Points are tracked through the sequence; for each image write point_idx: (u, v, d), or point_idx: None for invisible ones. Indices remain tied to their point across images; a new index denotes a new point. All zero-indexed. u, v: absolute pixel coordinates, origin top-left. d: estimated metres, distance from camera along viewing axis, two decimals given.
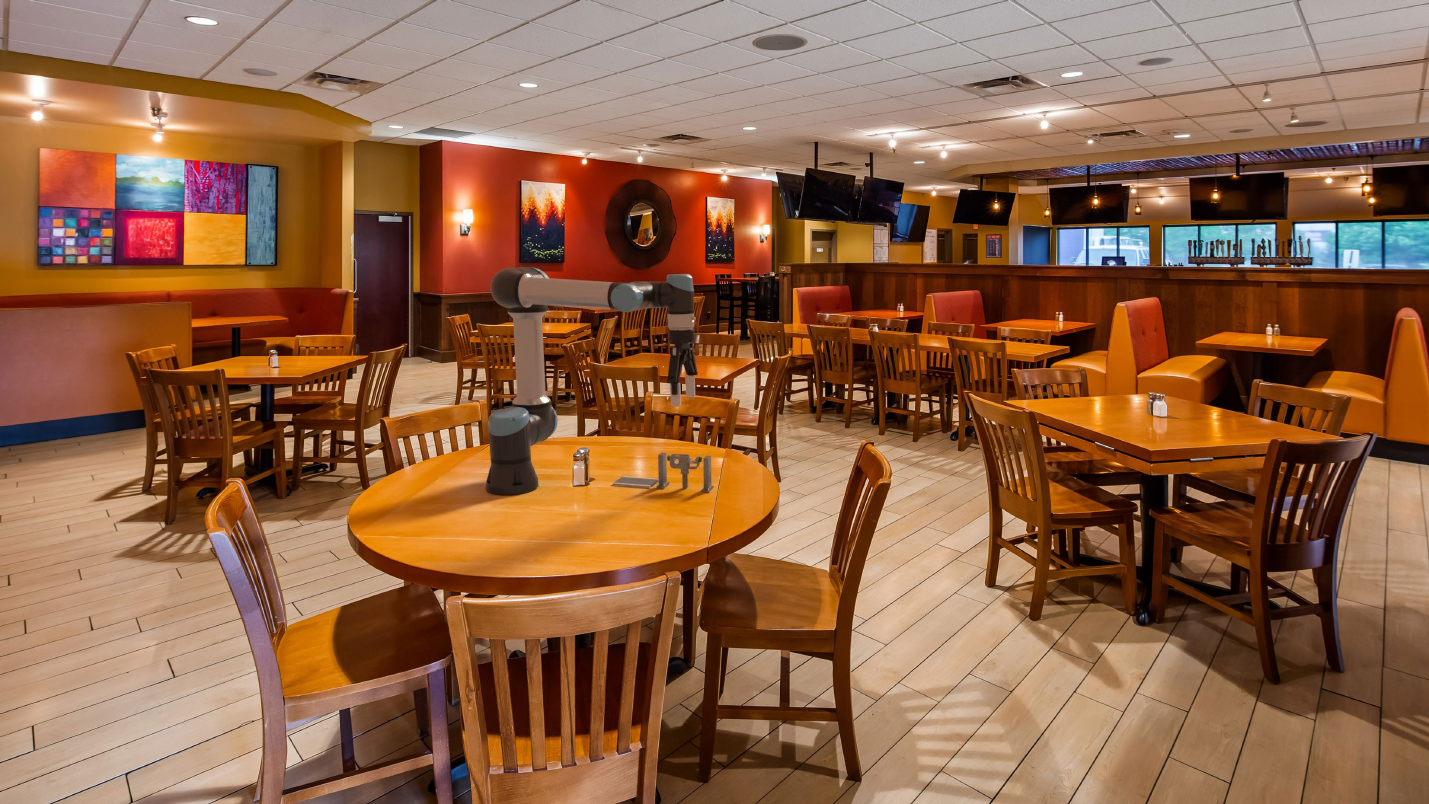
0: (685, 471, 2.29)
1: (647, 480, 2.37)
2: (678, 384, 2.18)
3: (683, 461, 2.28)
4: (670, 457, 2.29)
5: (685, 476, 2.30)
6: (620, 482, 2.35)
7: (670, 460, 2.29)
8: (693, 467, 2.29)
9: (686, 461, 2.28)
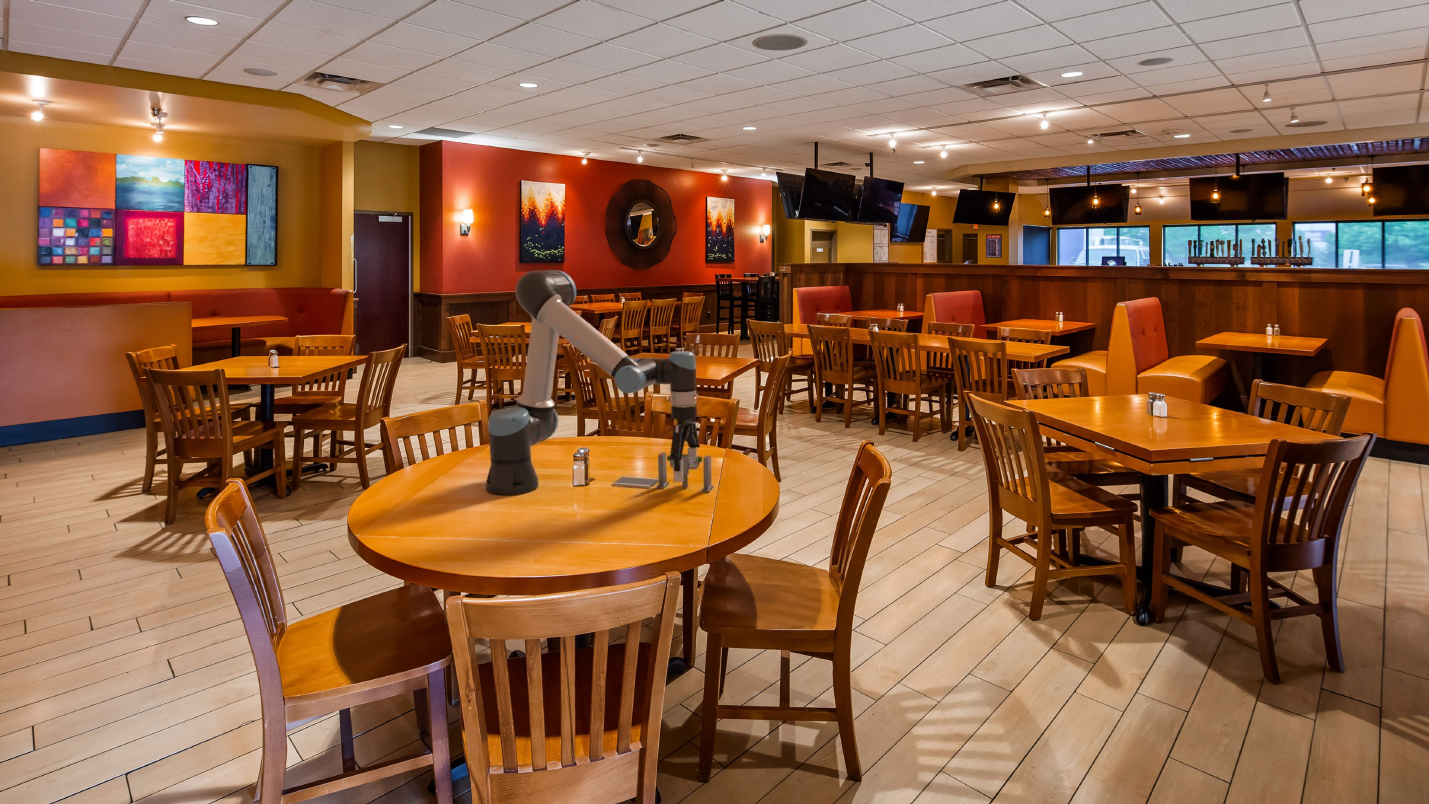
0: (685, 471, 2.29)
1: (647, 480, 2.37)
2: (680, 461, 2.22)
3: (683, 461, 2.28)
4: None
5: (685, 476, 2.30)
6: (620, 482, 2.35)
7: (670, 460, 2.29)
8: (693, 467, 2.29)
9: (686, 461, 2.28)
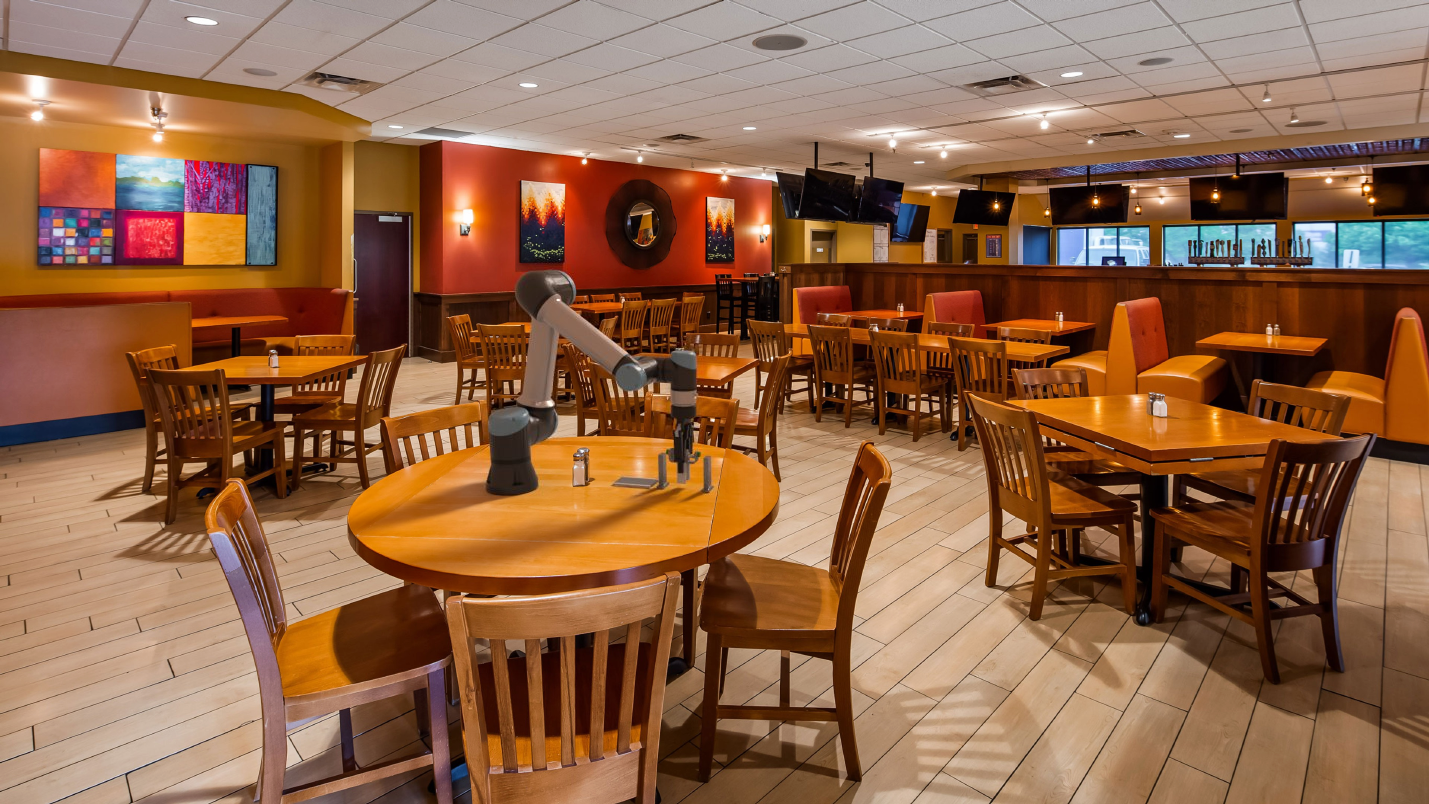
0: None
1: (647, 480, 2.37)
2: (684, 463, 2.27)
3: None
4: (669, 451, 2.29)
5: None
6: (620, 482, 2.35)
7: (669, 454, 2.29)
8: (691, 462, 2.28)
9: None
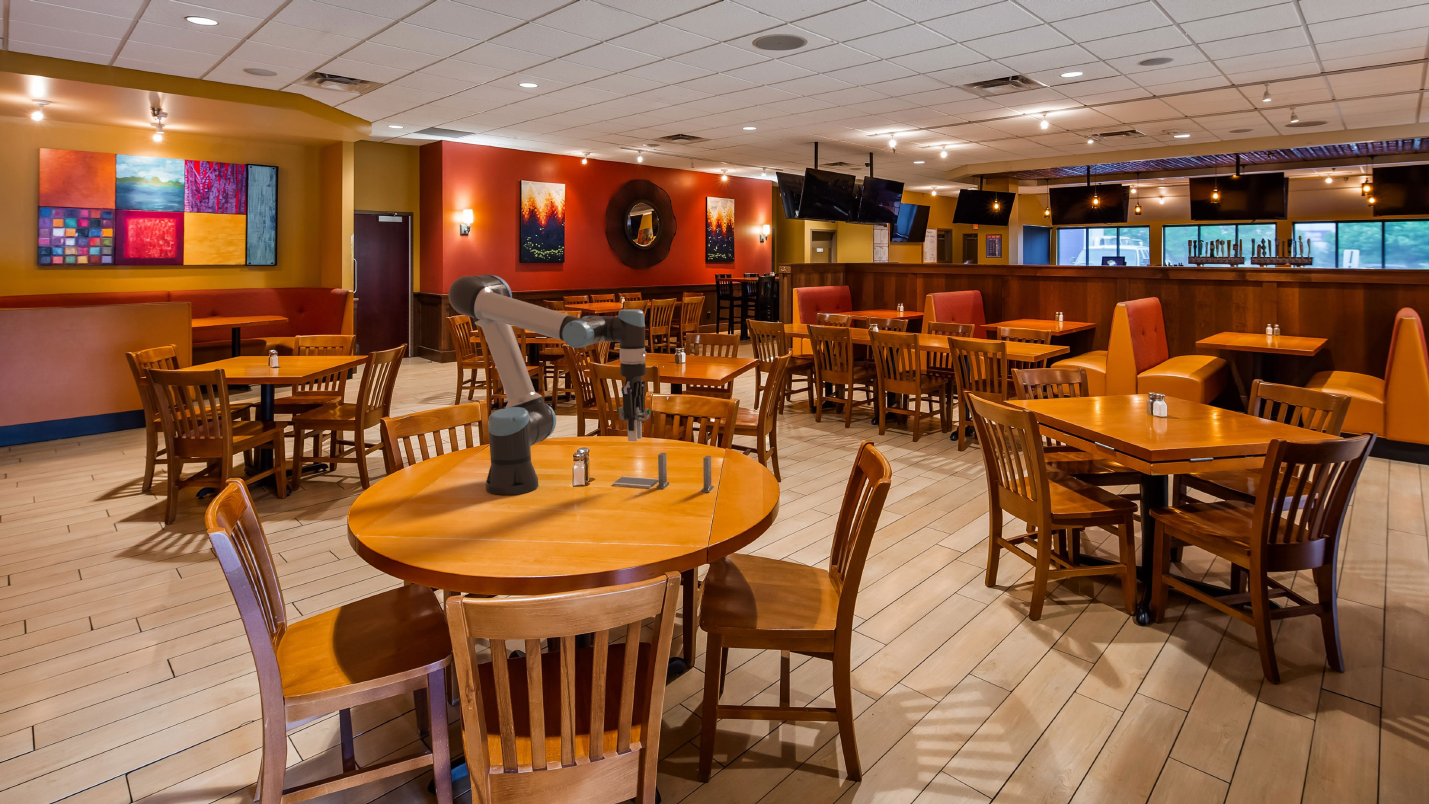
0: None
1: (647, 480, 2.37)
2: (635, 421, 2.30)
3: None
4: (620, 409, 2.32)
5: None
6: (620, 482, 2.35)
7: (620, 412, 2.32)
8: (642, 419, 2.31)
9: None
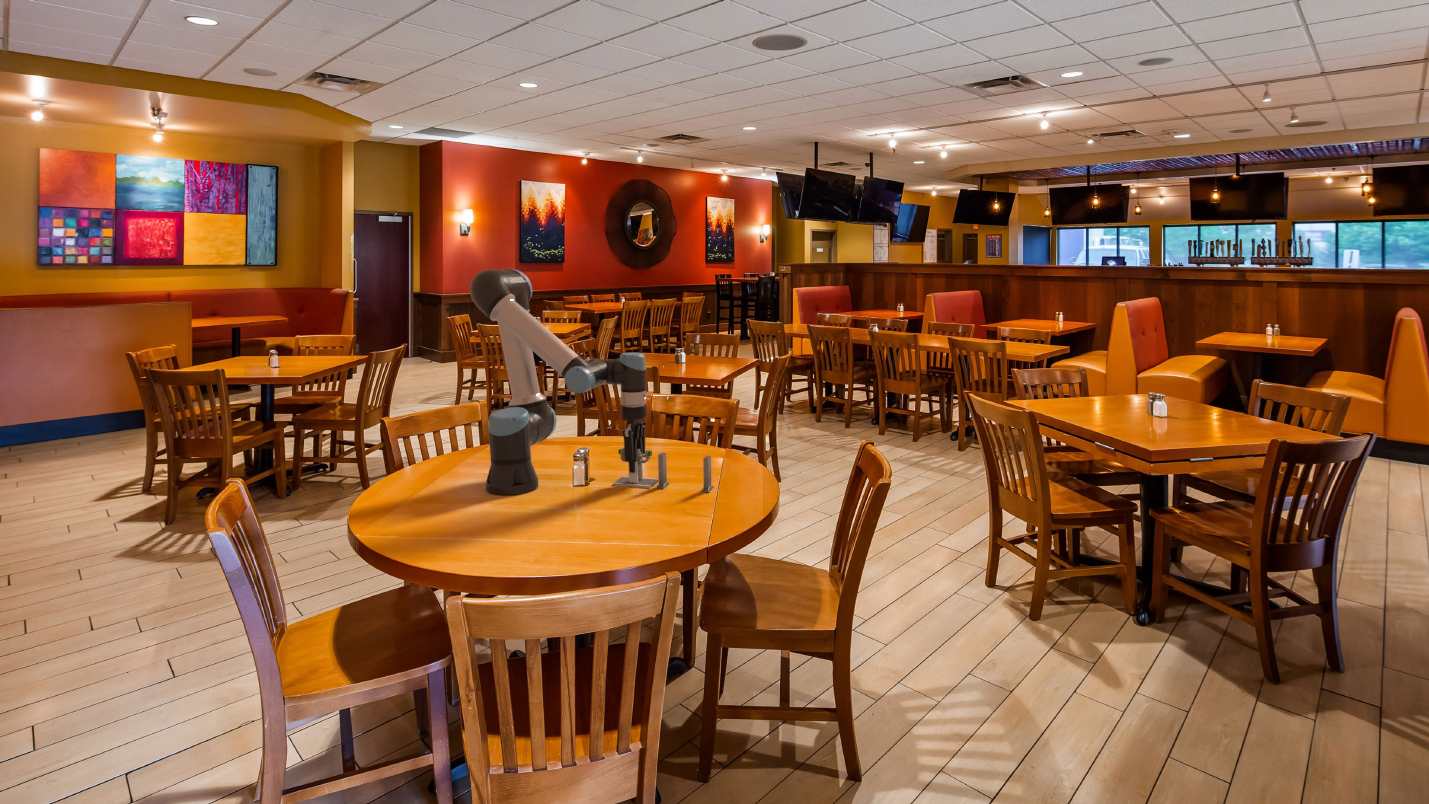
0: None
1: (647, 480, 2.37)
2: (635, 462, 2.32)
3: None
4: (621, 450, 2.34)
5: None
6: (620, 482, 2.35)
7: (621, 453, 2.34)
8: (643, 461, 2.34)
9: None
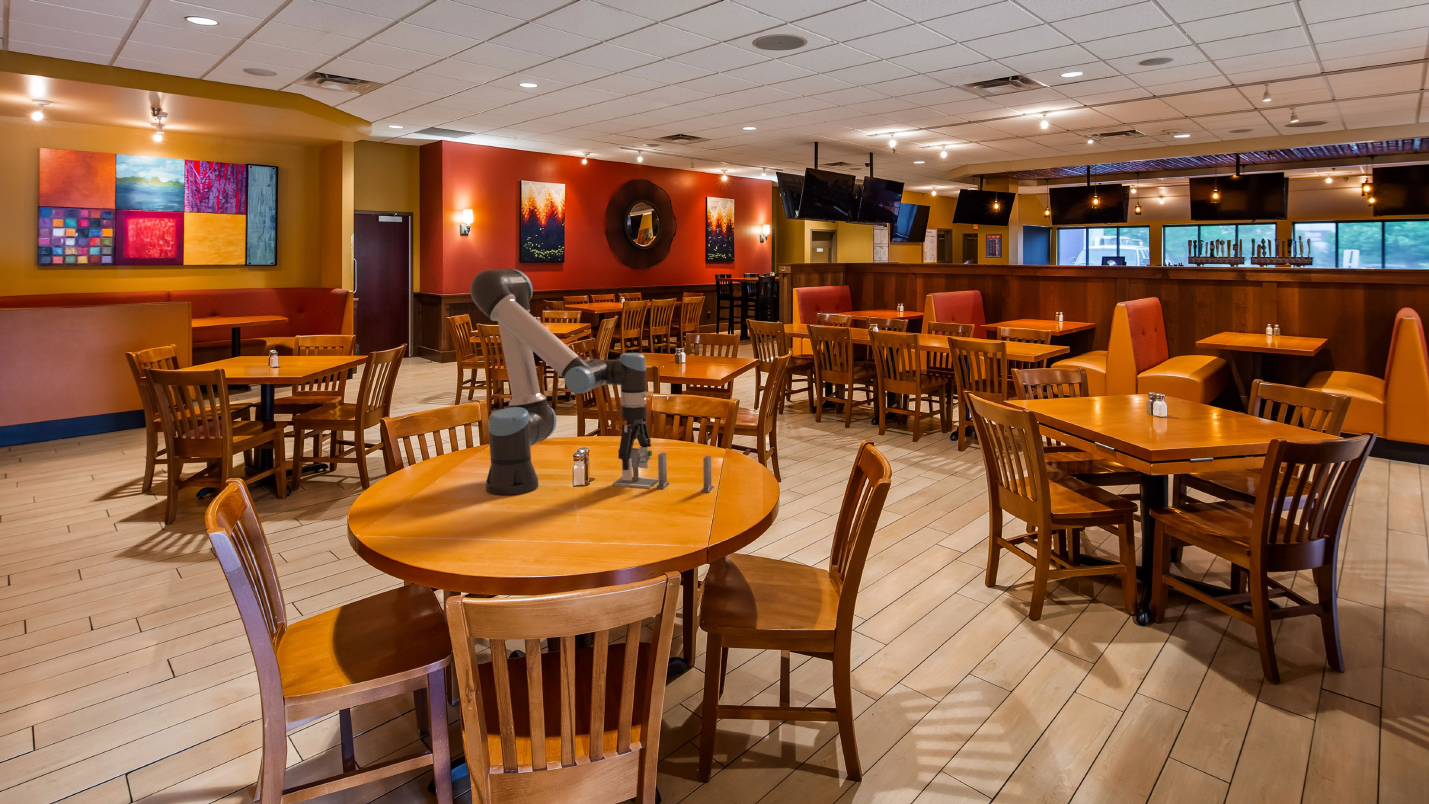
0: (635, 464, 2.34)
1: (647, 480, 2.37)
2: (629, 460, 2.27)
3: (633, 455, 2.33)
4: None
5: (635, 469, 2.35)
6: (620, 482, 2.35)
7: None
8: (643, 461, 2.34)
9: (636, 455, 2.33)
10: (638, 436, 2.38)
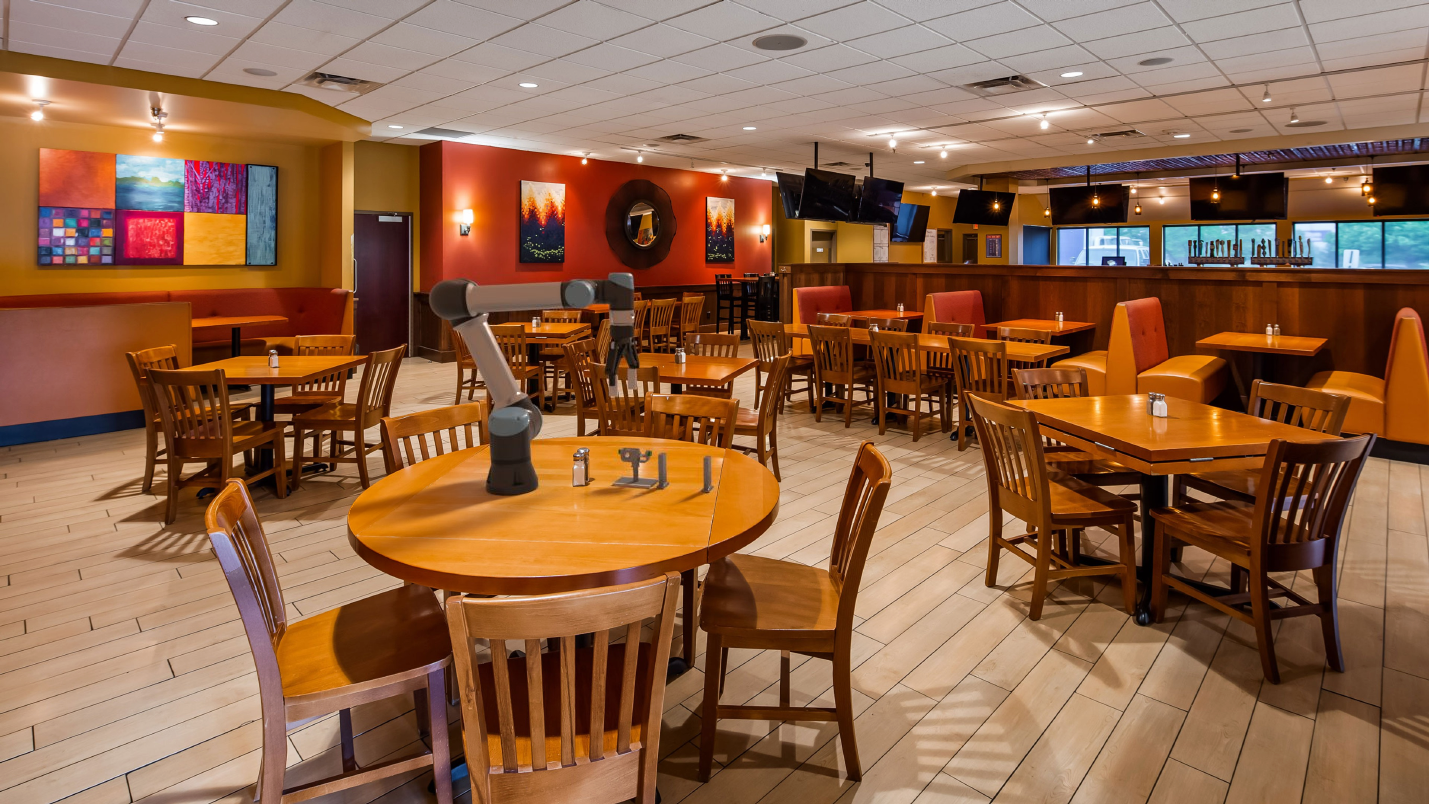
0: (635, 464, 2.34)
1: (647, 480, 2.37)
2: (615, 376, 2.32)
3: (633, 455, 2.33)
4: (621, 451, 2.34)
5: (635, 469, 2.35)
6: (620, 482, 2.35)
7: (621, 453, 2.34)
8: (643, 461, 2.34)
9: (636, 455, 2.33)
10: (626, 356, 2.42)
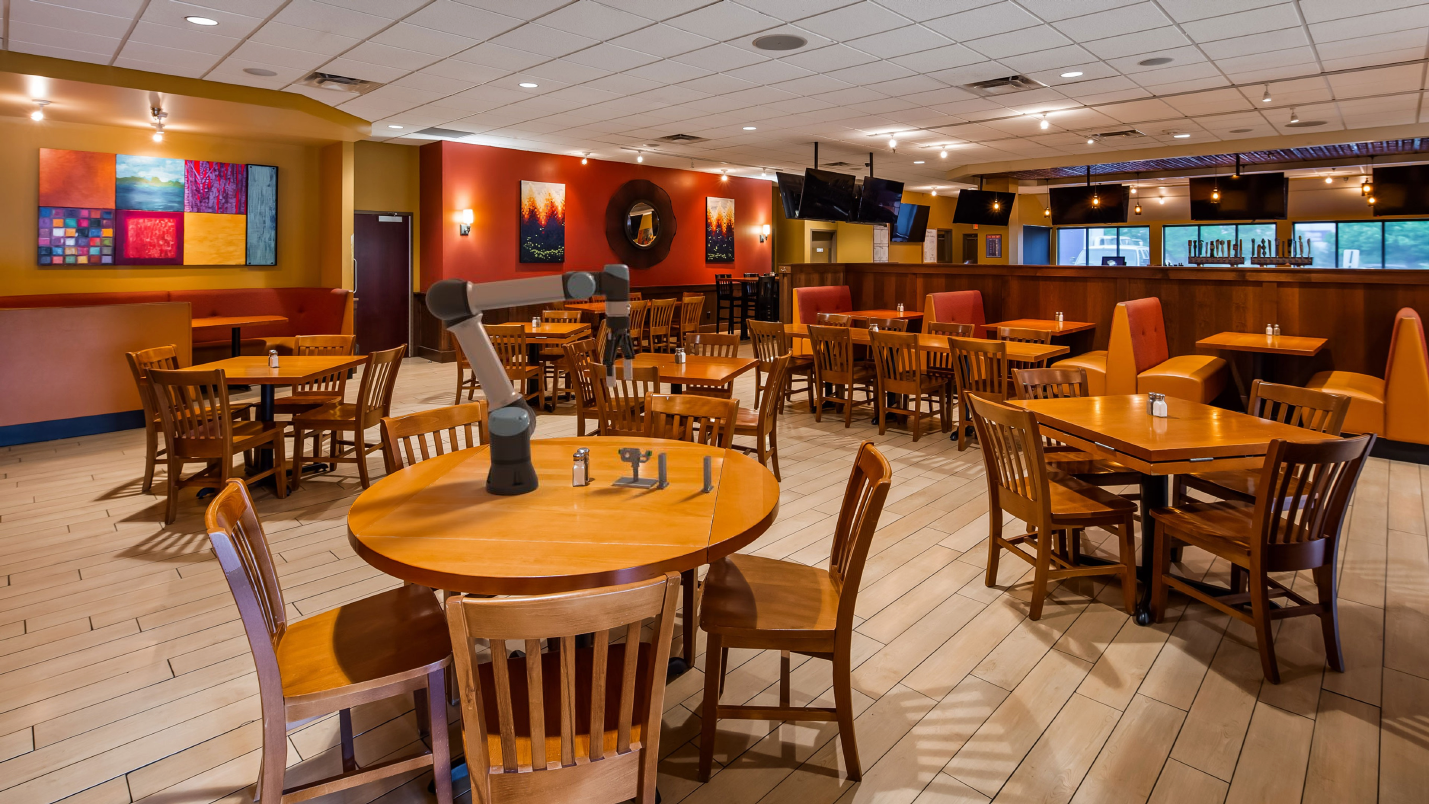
0: (635, 464, 2.34)
1: (647, 480, 2.37)
2: (613, 366, 2.35)
3: (633, 455, 2.33)
4: (621, 451, 2.34)
5: (635, 469, 2.35)
6: (620, 482, 2.35)
7: (621, 453, 2.34)
8: (643, 461, 2.34)
9: (636, 455, 2.33)
10: (622, 347, 2.46)
